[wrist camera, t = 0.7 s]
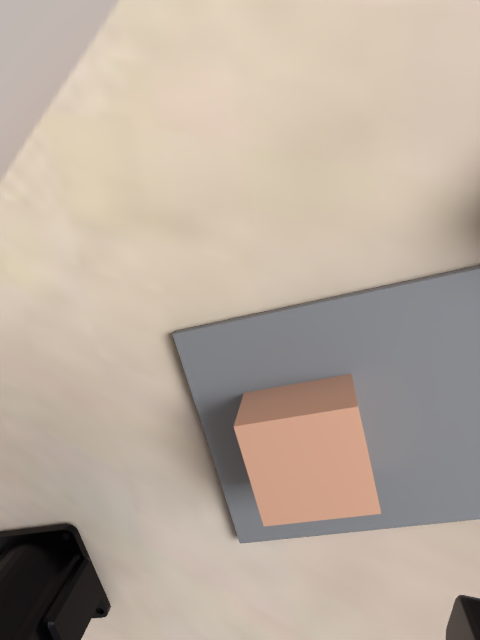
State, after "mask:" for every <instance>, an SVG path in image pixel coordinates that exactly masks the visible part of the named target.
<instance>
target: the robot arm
mask: <svg viewBox="0 0 480 640" xmlns="http://www.w3.org/2000/svg"><path fill="white" fill-rule="evenodd" d="M110 607H111V606H110V603H109V601H108V598H107V596H106V594H105V592H104V589H103V587H102V585H101V582H100V580H99V578H98V576H97V573H96V571H95V569H94V566H93V564H92V562H91V559H90V557H89V555H88V553H87V550H86V548H85V546H84V543H83V541H82V539H81V536H80V534H79V532H78V530H77V528H76V527H74V526H73V525H69V524H66V525H58V526H50V527H42V528H33V529H25V530H17V531H9V532H0V640H81V638H82V636H83V634H84V632H85V630H86V628H87V626H88V624H89V622H90V620H91V618H102V617H106V616H107V614H108V612H109V610H110ZM446 640H480V598H475V597H470V596H465V595H459V596H458V597H457V598H456V600H455V602H454V606H453V609H452V612H451V615H450V618H449V621H448V625H447V628H446Z"/></svg>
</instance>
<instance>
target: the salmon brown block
mask: <svg viewBox="0 0 480 640" xmlns="http://www.w3.org/2000/svg"><path fill="white" fill-rule="evenodd" d="M234 430H235V433H236V436H237V440H238V443H239V446H240V449H241V453H242V456H243V459H244V463H245V466H246V469H247V473H248V476H249V479H250V483H251V486H252V489H253V493H254V496H255V499H256V502H257V506H258V509H259V512H260V516H261V519H262V522H263V526H273V525H283V524H292V523H301V522H310V521H319V520H329V519H338V518H347V517H356V516H365V515H375V514H381V509H380V504H379V499H378V495H377V490H376V485H375V480H374V475H373V470H372V466H371V461H370V456H369V452H368V447H367V442H366V438H365V433H364V429H363V424H362V419H361V415H360V410H359V405H358V401H357V396H356V392H355V387H354V382H353V378H352V374H347V375H342V376H336V377H331V378H325V379H319V380H314V381H308V382H302V383H297V384H291V385H285V386H280V387H274V388H268V389H263V390H257V391H252V392H246V393H244V394H243V398H242V401H241V404H240V407H239V411H238V414H237V417H236V420H235V424H234Z"/></svg>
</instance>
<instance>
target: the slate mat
mask: <svg viewBox="0 0 480 640" xmlns="http://www.w3.org/2000/svg"><path fill="white" fill-rule="evenodd" d="M173 338H174V341H175V344H176V347H177V350H178V353H179V356H180V359H181V362H182V365H183V369H184V372H185V375H186V378H187V381H188V384H189V387H190V390H191V393H192V396H193V399H194V403H195V406H196V409H197V412H198V415H199V418H200V421H201V424H202V427H203V430H204V434H205V437H206V440H207V443H208V446H209V449H210V452H211V455H212V458H213V461H214V465H215V468H216V471H217V474H218V477H219V480H220V483H221V486H222V489H223V492H224V495H225V499H226V502H227V505H228V508H229V511H230V514H231V517H232V520H233V523H234V526H235V530H236V533H237V536H238V539H239V542H240V543H250V542H260V541H269V540H279V539H289V538H299V537H309V536H319V535H329V534H338V533H348V532H358V531H368V530H378V529H388V528H397V527H407V526H417V525H427V524H437V523H447V522H457V521H466V520H476V519H480V265H479V266H474V267H469V268H465V269H460V270H456V271H451V272H446V273H442V274H437V275H432V276H428V277H423V278H418V279H414V280H409V281H405V282H400V283H395V284H391V285H386V286H381V287H377V288H372V289H367V290H363V291H358V292H354V293H349V294H344V295H340V296H335V297H330V298H326V299H321V300H317V301H312V302H307V303H303V304H298V305H293V306H289V307H284V308H279V309H275V310H270V311H266V312H261V313H256V314H252V315H247V316H242V317H238V318H233V319H228V320H224V321H219V322H215V323H210V324H205V325H201V326H196V327H191V328H187V329H182V330H178V331H175V332H174V333H173ZM347 374H352V378H353V382H354V387H355V392H356V396H357V401H358V405H359V410H360V415H361V419H362V424H363V429H364V433H365V438H366V442H367V447H368V452H369V456H370V461H371V466H372V470H373V475H374V480H375V485H376V490H377V495H378V499H379V504H380V509H381V514H375V515H365V516H356V517H347V518H338V519H329V520H319V521H310V522H301V523H292V524H283V525H273V526H263V522H262V519H261V516H260V512H259V509H258V506H257V502H256V499H255V496H254V493H253V489H252V486H251V483H250V479H249V476H248V473H247V469H246V466H245V463H244V459H243V456H242V453H241V449H240V446H239V443H238V440H237V436H236V433H235V430H234V424H235V420H236V417H237V414H238V411H239V407H240V404H241V401H242V398H243V394H244V393H246V392H252V391H257V390H263V389H268V388H274V387H280V386H285V385H291V384H297V383H302V382H308V381H314V380H319V379H325V378H331V377H336V376H342V375H347Z"/></svg>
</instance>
